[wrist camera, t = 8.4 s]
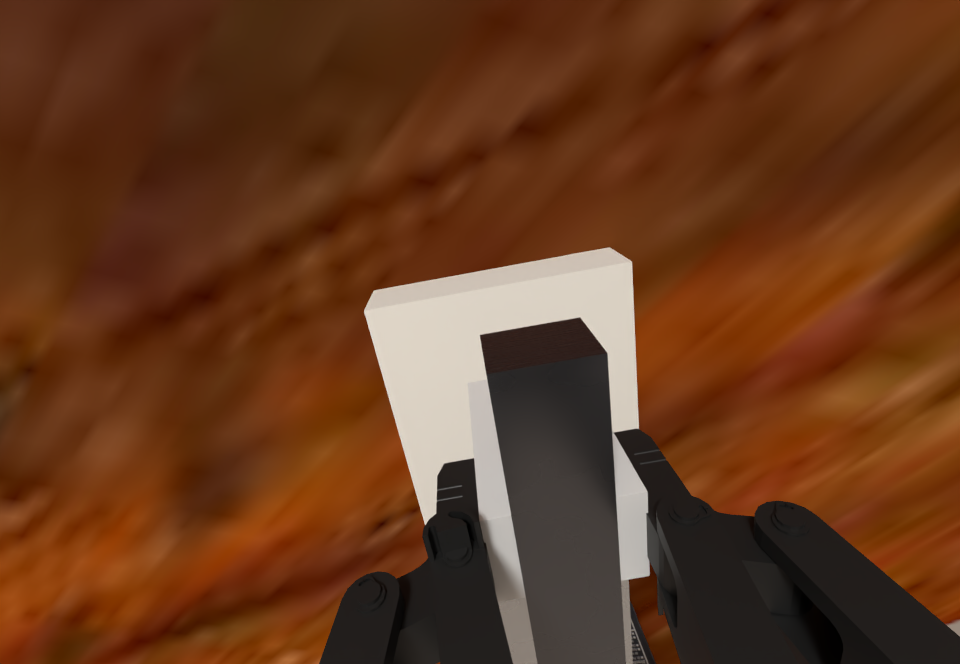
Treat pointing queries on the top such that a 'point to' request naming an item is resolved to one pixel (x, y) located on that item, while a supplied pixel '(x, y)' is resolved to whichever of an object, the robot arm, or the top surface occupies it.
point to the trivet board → (458, 352)
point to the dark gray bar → (559, 494)
